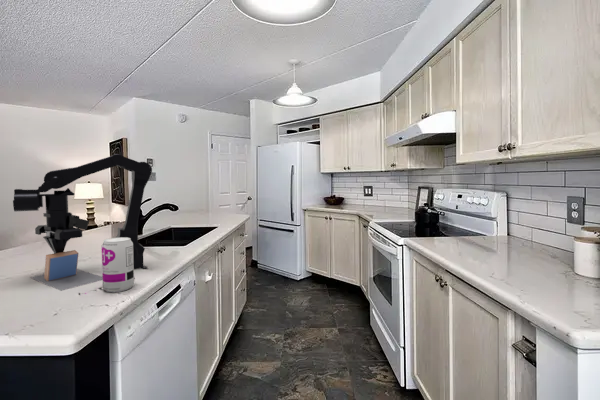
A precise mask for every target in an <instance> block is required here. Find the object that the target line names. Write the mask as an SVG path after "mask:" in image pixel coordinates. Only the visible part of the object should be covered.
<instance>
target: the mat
mask: <svg viewBox="0 0 600 400" xmlns="http://www.w3.org/2000/svg"><path fill="white" fill-rule="evenodd" d="M44 275H45V273H43V274H40V275H35V276H31V277H29V279H30V280H31V279H32V280H34V281H36V282H39V283H42V284H44V285H46V286H49V287H51V288H53V289H56V290H58V291H65V290H69V289H73V288H77V287H80V286H85V285H88V284H89V285H90V284H93V283H97V282H100V281H103V275H102V276H100V275H98V274H96V273H95V274H94V273H93V272H89V271H85V270H82V269H80V268H77V273H76V275H73V276H69V277H64V278H60V279H56V280H51V281H47V280H46V279H45V278H44Z"/></svg>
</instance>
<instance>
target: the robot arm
mask: <svg viewBox="0 0 600 400" xmlns="http://www.w3.org/2000/svg"><path fill="white" fill-rule="evenodd" d="M113 167H119V168H121V169H124V170H126V171H128V172H130V173H131V185H132V186H131V192H130V194H129V195H130V196H129V200H128V205H127V211H126V215H125V221H124V224H123V225H122V228H121V227H118V228H117V234H116V236H115V238H118V237H128V238H131V241H132V242H133V259H134V270H137V269H142V270H146V269H148V266H145V265H144V251H145V247H144V246H143V245H142V244H141V243H140V242H139V233H138V230H139V229H138V223H139V217H140V213H141V212H140V211H141V207H142V202H143V197H144V192H145V188H146V185H147V183H148V182H149V180H150V178H151V175H152V172H153V168H152V165H150V164H149V163H148V162H147V161H146V162H145V161H137V160H134V159H131V158H130V157H126V156H123V155H122V154H119V153H114V154H112V155H110V156H107V157H104V158H101V159H97V160H94V161H91V162H88V163H86V164H81V165H79V166H75V167H68V168H61V169H56V170H50V171H47V173H45V175H44V177H43V181H44V182H43V183H42V184H41V185H39V186H38V189H23V188H16V189H14V191H13V194H14V195H13V200H12V205H13V211H14V212H34V211H36V212H38V211H40V210H39V209H40V208H44V202H45V212H44V213H43V217H44V218H45V219H46V220H45V221H46V224H39V225H37V226H36V227H35V228H34V231H35V232H34V233H35V234H34V235H38V236H39V235H42V234H45V236H42V239H44V240H45V241H46V243H47V244H48V246H49V247H50V249H51V250H52V252H53V254H55V253H60V252H65V248H66V245H67V243H68V241H70V240H71V239H77V238H83V230H85V231H86V230H87V229H88V226H89V222H90V220H88V219H83V218H82V219H81V218H80V216H79V215H76V214H73V213H72V212H69V196H75V193H74V192H73V191H72V190H71V189H70V187H68V188H66V189H65V190H63V189H62V190H60V189H61V188H63V187H65V186H68V185H69V184H72V183H73V182H75V181H77V180H79V179H81V178H83V177H86V176H90V175H92V174H95V173H98V172H100V171H101V172H102V171H104V170H108V169H110V168H113ZM52 189H54V190H53V193H47V192H49V191H50V190H52ZM58 189H59V190H58ZM43 197H45V199H44V198H43Z"/></svg>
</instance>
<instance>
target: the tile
mask: <svg viewBox="0 0 600 400" xmlns="http://www.w3.org/2000/svg"><path fill="white" fill-rule="evenodd" d="M78 259H79V252H78V251H77V250H75V249H74V250H73V249H72V250H66V251H64V252H60V253H55V254H54V253H49V254H46V255H45V264H44V274H45V275H44V274H43V275H44V278H45V279H46V280H47V281H51V280H56V279H60V278H64V277H69V276H73V275H76V273H77V269H78V261H79V260H78Z"/></svg>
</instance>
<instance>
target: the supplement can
mask: <svg viewBox="0 0 600 400" xmlns="http://www.w3.org/2000/svg"><path fill="white" fill-rule="evenodd" d="M101 268H102V269H101V270H102V272H101V273H102V277H103V280H102V290H105V291H106V292H107V293H119V292H124V291H127V290H129V289H131V288H132V287H134V285H135V272H134V271H135V269H134V259H133V242H132V241H131V238H128V237H118V238H116V237H110V238H106V239H104V240H103V242H102V243H101Z"/></svg>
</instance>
